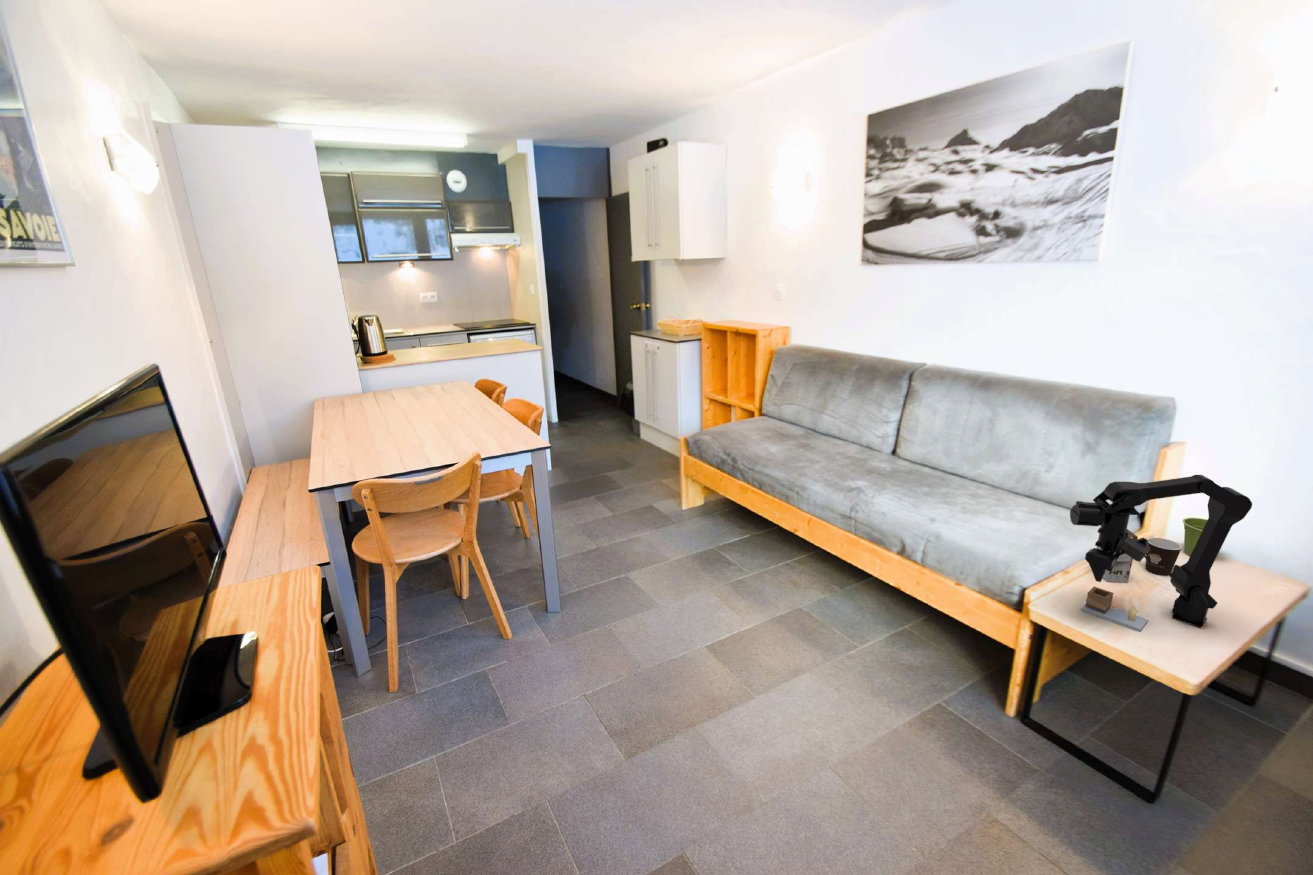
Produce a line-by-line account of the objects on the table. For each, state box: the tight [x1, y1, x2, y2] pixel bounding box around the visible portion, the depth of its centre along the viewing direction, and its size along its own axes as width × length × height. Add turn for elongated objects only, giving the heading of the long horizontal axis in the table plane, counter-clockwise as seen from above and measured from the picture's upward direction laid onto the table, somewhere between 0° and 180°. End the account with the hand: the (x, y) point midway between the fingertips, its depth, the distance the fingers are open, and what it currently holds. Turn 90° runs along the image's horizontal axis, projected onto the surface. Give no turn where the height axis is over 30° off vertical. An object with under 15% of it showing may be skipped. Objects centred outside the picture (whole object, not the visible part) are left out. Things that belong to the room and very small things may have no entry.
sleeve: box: [1084, 586, 1114, 614], centre depth 171 cm, size 5×5×5 cm
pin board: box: [1080, 603, 1149, 633], centre depth 168 cm, size 14×7×4 cm, turn 38°
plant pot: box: [1182, 517, 1208, 556], centre depth 198 cm, size 12×12×11 cm
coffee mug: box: [1144, 537, 1183, 577], centre depth 191 cm, size 12×9×10 cm
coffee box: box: [1096, 528, 1139, 584], centre depth 188 cm, size 9×6×16 cm
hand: (1103, 575), depth 168 cm, fingers open, 9 cm apart
